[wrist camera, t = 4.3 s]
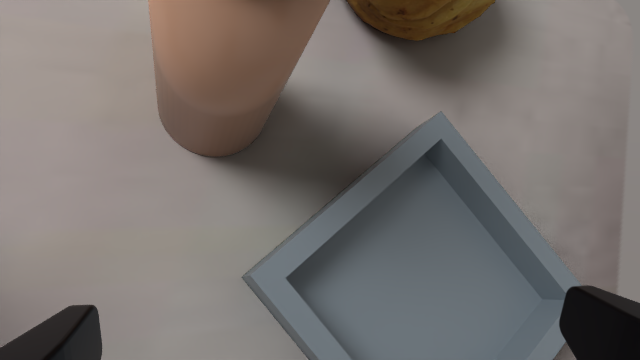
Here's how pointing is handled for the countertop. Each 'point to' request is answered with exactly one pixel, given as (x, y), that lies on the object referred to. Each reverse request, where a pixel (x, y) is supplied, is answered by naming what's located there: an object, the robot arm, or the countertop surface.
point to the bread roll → (419, 15)
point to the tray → (418, 265)
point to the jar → (225, 66)
